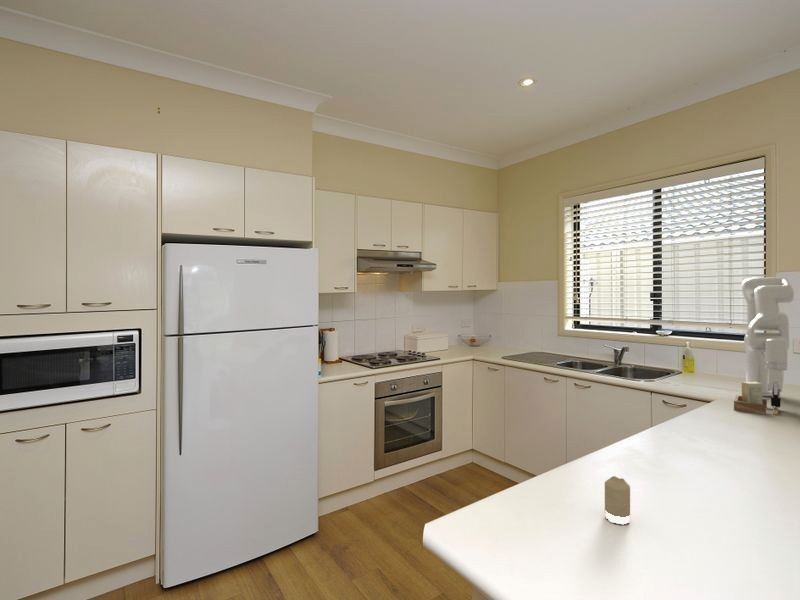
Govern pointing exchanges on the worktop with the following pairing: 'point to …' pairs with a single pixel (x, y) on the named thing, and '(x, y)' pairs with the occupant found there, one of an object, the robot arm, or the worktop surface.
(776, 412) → the bar
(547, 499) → the worktop surface
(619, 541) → the worktop surface
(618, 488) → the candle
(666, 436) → the worktop surface
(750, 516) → the worktop surface
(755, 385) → the skincare box
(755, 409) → the cradle
